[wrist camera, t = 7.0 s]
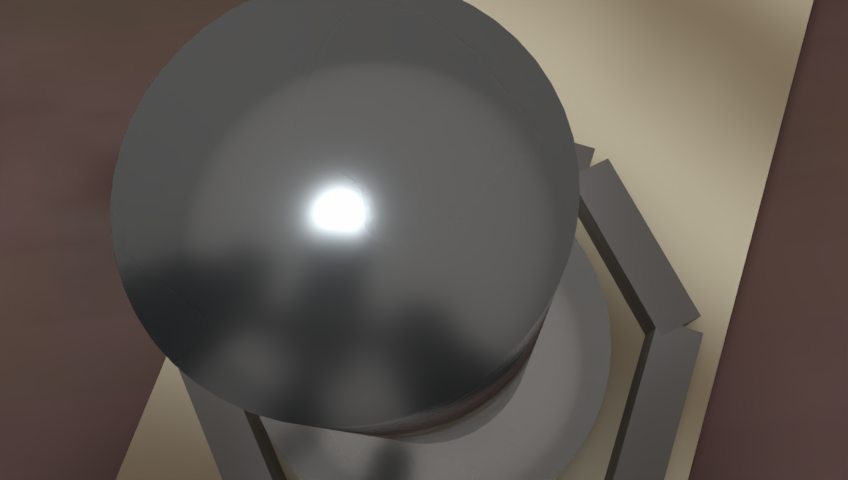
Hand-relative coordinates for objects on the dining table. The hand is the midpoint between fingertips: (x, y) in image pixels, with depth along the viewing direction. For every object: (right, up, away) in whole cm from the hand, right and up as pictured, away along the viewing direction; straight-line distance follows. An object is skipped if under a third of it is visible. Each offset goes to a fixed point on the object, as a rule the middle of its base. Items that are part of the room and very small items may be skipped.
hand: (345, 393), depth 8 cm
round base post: (+1, -1, +8) cm, 8 cm away
